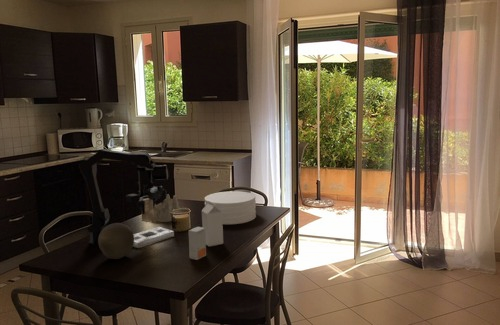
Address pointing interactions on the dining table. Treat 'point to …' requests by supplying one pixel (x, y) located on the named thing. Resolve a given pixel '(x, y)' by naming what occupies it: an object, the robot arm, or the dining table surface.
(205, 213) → the milk carton
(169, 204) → the ceramic cottage
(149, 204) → the wooden peg
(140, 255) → the dining table surface
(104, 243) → the cantaloupe
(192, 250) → the skincare box
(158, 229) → the white flat tray
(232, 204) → the plate stack
